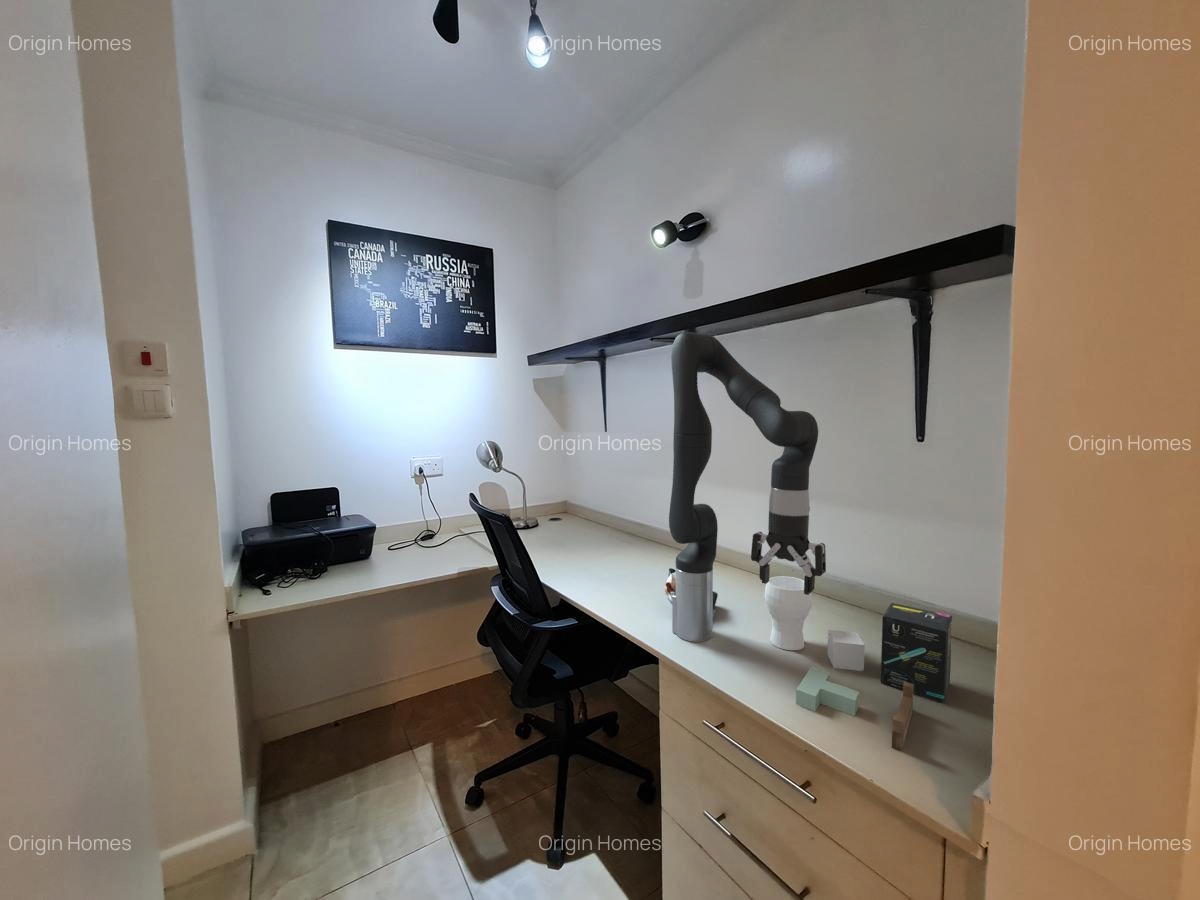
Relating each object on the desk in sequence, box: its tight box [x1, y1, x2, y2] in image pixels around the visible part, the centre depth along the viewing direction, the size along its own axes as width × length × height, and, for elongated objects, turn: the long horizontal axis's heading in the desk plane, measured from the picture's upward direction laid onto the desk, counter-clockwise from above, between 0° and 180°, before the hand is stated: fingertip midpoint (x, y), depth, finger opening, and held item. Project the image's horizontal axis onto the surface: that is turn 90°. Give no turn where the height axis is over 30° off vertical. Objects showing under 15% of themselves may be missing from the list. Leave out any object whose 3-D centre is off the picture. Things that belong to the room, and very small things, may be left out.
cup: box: [764, 575, 813, 651], centre depth 112 cm, size 11×11×15 cm
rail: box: [891, 681, 914, 752], centre depth 82 cm, size 2×14×5 cm, turn 140°
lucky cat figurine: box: [664, 567, 719, 618], centre depth 130 cm, size 15×12×14 cm
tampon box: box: [880, 602, 953, 703], centre depth 95 cm, size 11×9×15 cm
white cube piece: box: [827, 629, 865, 672], centre depth 103 cm, size 6×6×6 cm
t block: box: [795, 667, 860, 717], centre depth 89 cm, size 10×10×3 cm
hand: (785, 587), depth 95 cm, fingers open, 8 cm apart
